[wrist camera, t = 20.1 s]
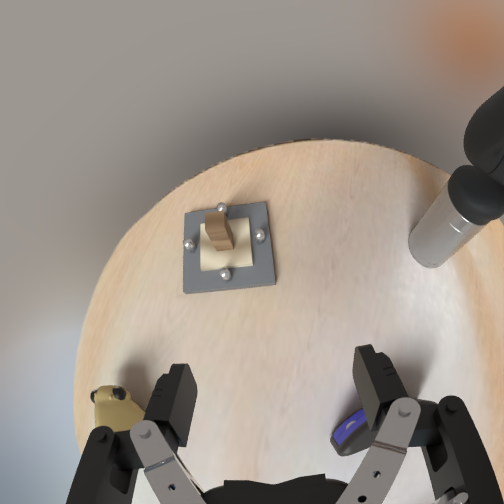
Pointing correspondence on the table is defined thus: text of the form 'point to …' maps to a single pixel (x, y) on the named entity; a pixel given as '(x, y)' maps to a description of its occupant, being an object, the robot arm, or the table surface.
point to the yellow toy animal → (115, 408)
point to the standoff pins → (224, 271)
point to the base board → (241, 276)
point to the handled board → (227, 255)
